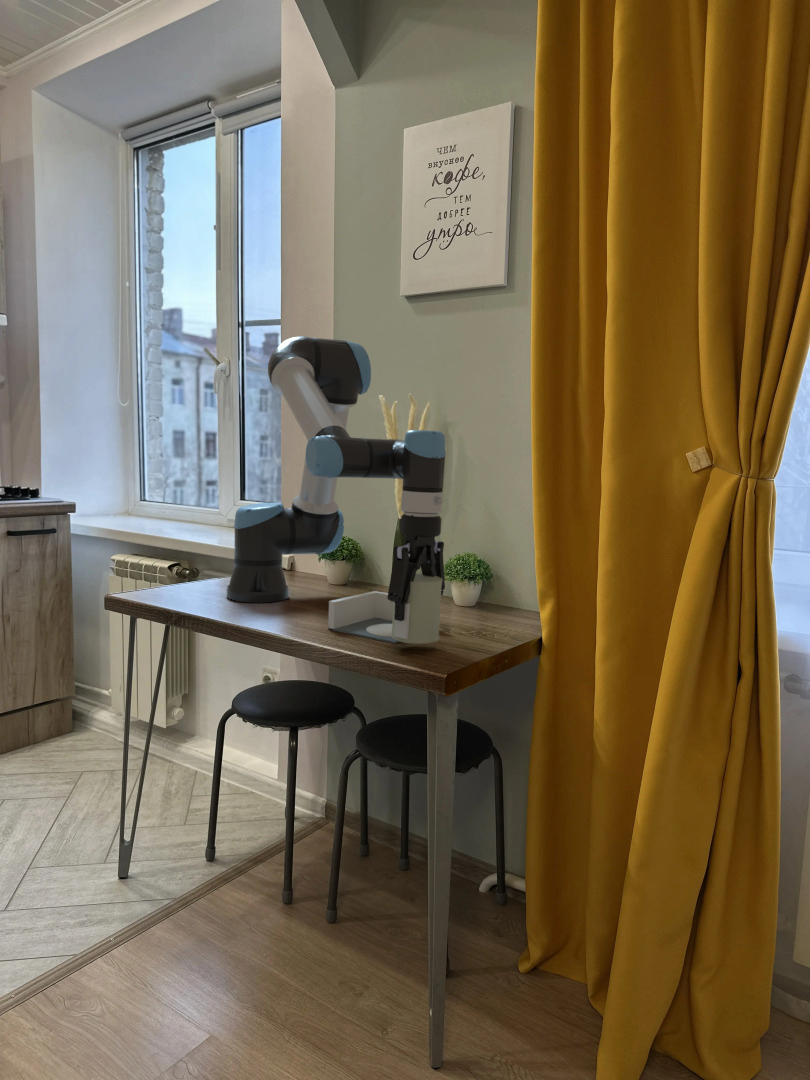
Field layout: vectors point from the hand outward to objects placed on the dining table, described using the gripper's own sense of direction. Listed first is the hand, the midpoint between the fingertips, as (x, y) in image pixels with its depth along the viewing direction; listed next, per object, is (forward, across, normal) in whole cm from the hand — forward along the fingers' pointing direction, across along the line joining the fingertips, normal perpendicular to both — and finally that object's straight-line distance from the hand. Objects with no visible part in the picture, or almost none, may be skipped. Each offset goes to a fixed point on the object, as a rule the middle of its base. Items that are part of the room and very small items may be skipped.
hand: (415, 632), depth 141 cm
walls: (+4, +9, +14) cm, 16 cm away
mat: (+4, +9, +14) cm, 16 cm away
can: (+1, 0, 0) cm, 1 cm away
